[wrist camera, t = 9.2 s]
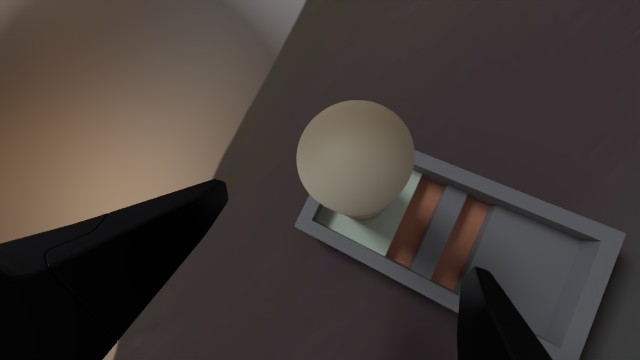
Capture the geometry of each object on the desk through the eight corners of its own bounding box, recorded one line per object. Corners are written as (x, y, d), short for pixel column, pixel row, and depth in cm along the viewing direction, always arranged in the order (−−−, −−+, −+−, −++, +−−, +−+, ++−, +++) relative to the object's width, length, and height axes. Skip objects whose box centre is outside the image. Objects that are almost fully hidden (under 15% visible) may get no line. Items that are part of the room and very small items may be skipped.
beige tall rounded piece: (389, 220, 20) (419, 212, 8) (337, 221, 20) (295, 214, 9) (386, 169, 20) (410, 94, 9) (336, 172, 21) (297, 105, 9)
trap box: (539, 350, 18) (573, 374, 15) (303, 226, 22) (294, 226, 19) (585, 232, 18) (626, 233, 15) (347, 135, 23) (345, 122, 20)
